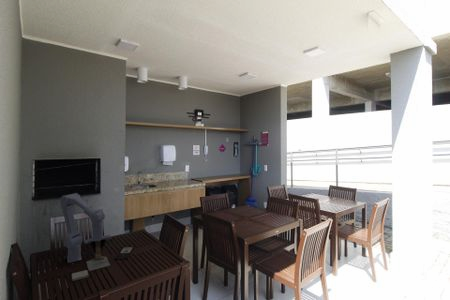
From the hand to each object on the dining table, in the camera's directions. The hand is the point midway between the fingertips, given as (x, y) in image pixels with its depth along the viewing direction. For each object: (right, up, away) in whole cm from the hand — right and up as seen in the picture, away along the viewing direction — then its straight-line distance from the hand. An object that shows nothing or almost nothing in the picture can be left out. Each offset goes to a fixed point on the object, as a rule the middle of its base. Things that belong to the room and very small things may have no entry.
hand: (98, 251), depth 158 cm
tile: (-5, -8, -12) cm, 15 cm away
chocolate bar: (+11, -8, +15) cm, 21 cm away
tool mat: (0, -8, 0) cm, 8 cm away
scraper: (0, -5, 0) cm, 5 cm away
